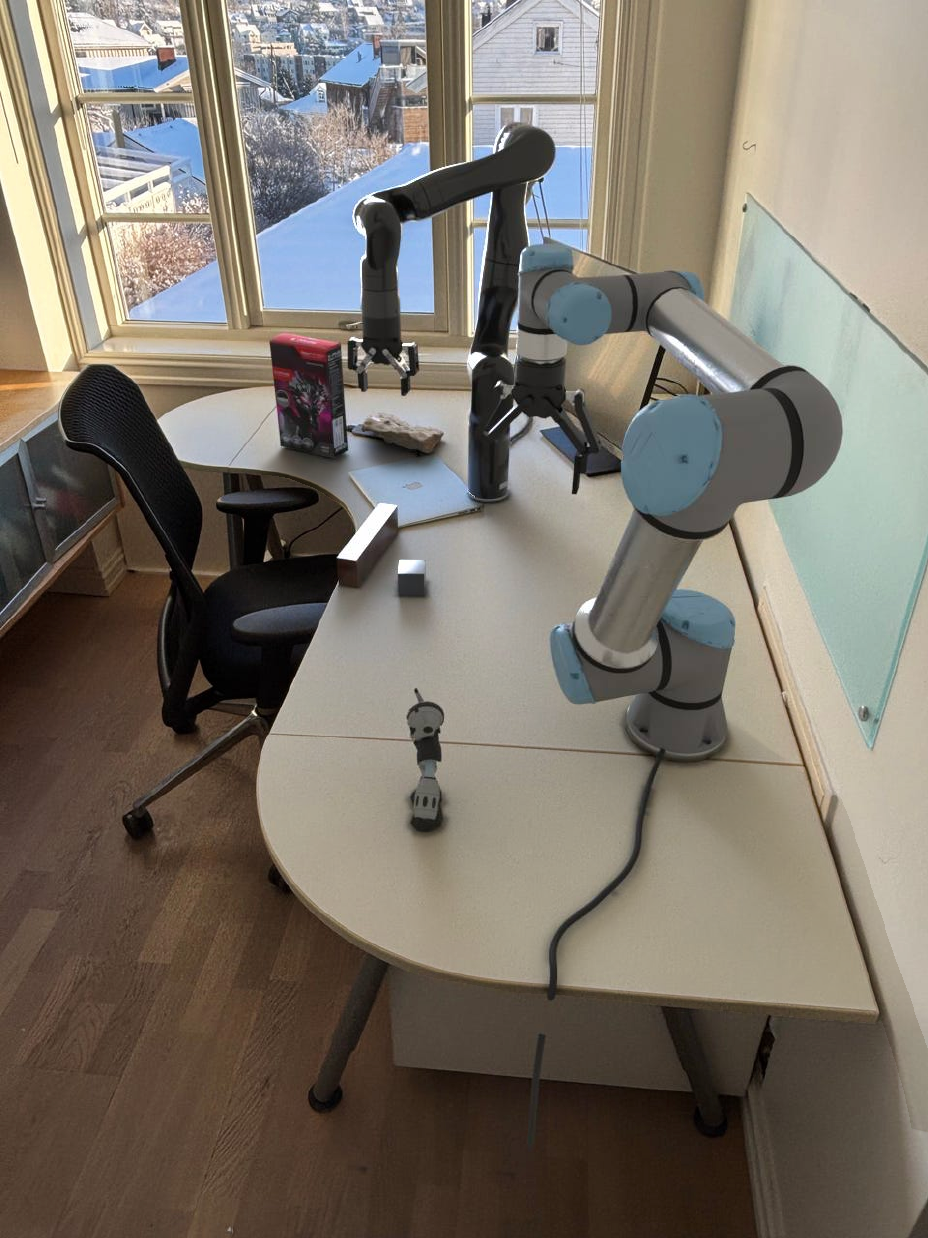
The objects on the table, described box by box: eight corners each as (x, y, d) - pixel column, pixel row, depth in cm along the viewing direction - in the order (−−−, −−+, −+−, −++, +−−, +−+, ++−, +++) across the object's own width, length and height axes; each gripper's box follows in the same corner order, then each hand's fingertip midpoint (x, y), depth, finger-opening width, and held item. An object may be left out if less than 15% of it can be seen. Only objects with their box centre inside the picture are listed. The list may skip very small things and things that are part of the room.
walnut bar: (358, 587, 177) (356, 560, 174) (338, 584, 178) (336, 557, 175) (398, 530, 196) (397, 505, 193) (380, 528, 197) (379, 502, 194)
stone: (345, 437, 230) (349, 413, 227) (367, 428, 243) (371, 405, 241) (423, 461, 226) (429, 437, 224) (441, 451, 239) (446, 428, 237)
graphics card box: (278, 447, 232) (266, 338, 217) (294, 437, 237) (284, 331, 222) (334, 460, 225) (326, 350, 210) (350, 450, 230) (343, 341, 215)
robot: (446, 864, 120) (446, 749, 109) (409, 865, 120) (405, 750, 109) (442, 761, 137) (441, 652, 126) (409, 762, 136) (405, 652, 125)
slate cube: (424, 596, 175) (424, 573, 172) (398, 595, 175) (397, 573, 172) (425, 582, 179) (425, 560, 176) (400, 582, 179) (399, 559, 176)
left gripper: (422, 308, 178) (423, 389, 187) (353, 302, 181) (357, 383, 190) (410, 319, 172) (412, 402, 181) (339, 313, 175) (344, 395, 184)
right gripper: (627, 355, 138) (613, 485, 150) (467, 341, 143) (465, 467, 155) (621, 371, 132) (607, 505, 144) (453, 355, 137) (453, 485, 149)
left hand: (384, 392), depth 186 cm, fingers open, 8 cm apart
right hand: (533, 485), depth 149 cm, fingers open, 13 cm apart
